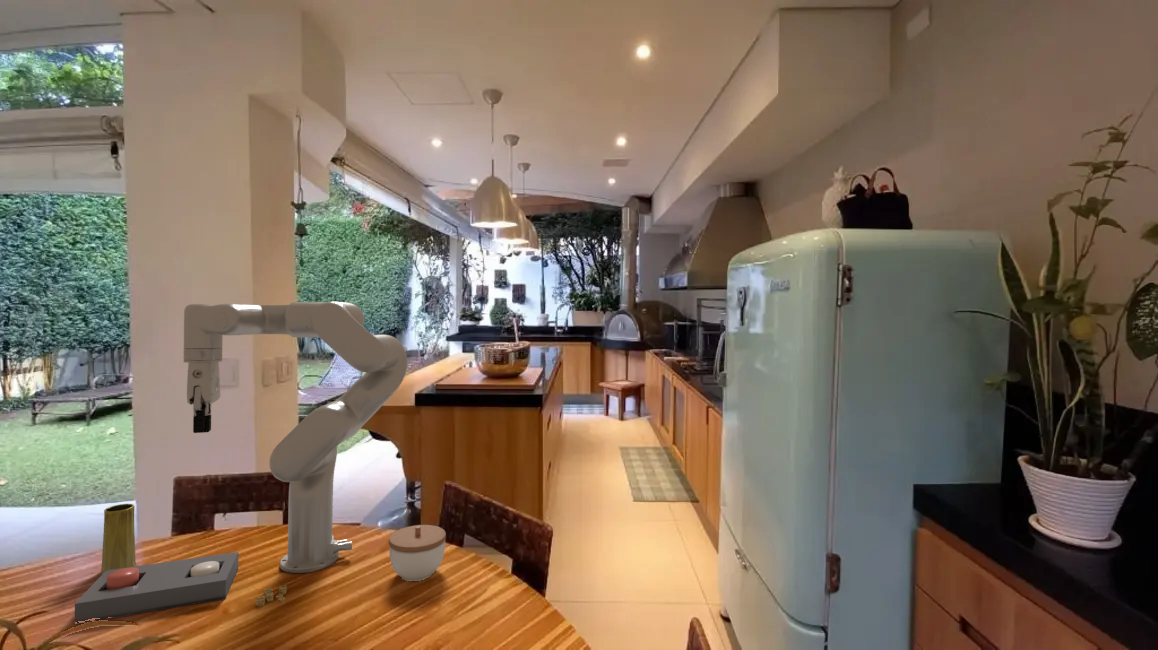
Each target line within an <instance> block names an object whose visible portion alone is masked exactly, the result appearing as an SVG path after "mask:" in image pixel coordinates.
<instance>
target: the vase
mask: <svg viewBox="0 0 1158 650" xmlns="http://www.w3.org/2000/svg"><path fill="white" fill-rule="evenodd" d="M135 510H136V509H135V504H133V503H123V504H116V505H112V506H109V507H106V508H105V509H104V513H103V515H104V517H103V534H102V535H103V537H102V538H103V539H102V555H101V567H100V569H101V570H100V574H101V575H102V574H103V573H104V572H105V571H106V570H113V569H120V568H127V567H134V566H137V562H136V539H135V538H136V537H135V536H136V535H135Z"/></svg>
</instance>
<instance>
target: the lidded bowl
mask: <svg viewBox="0 0 1158 650" xmlns="http://www.w3.org/2000/svg"><path fill="white" fill-rule="evenodd" d="M446 538H447V533H446V531H445V529H443V528H442V527H440V526H437V525H431V524H416V525H411V526H406V527H403V528H400V529H397V530H396V531H394V532H393V533H392V534H391V535H390V536H389V538H388V545H389V548H388V549H389V560H390V565H391V568H392V570H394V572H395V573H396V574H397V575H398V576H400V578H401V577H402V578H401V580H403V579H404V580H407V581H406V582H408V581H419V582H422V581H421V580H423V579H426V578H428V577H430V576H431V575H432V574H433V575H434V573H435V572H436V571H437V570H438V569H439V567H440V565H441V563H442V561H443V558H444V555H445V549H446ZM433 575H432V576H433ZM432 576H431V577H432ZM431 577H430V578H431ZM428 579H429V578H428ZM404 580H403V581H404ZM426 580H427V579H426ZM423 581H424V580H423Z"/></svg>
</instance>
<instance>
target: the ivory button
mask: <svg viewBox="0 0 1158 650" xmlns="http://www.w3.org/2000/svg"><path fill="white" fill-rule="evenodd" d="M215 573H219V562H217V561H208V562H203V563H200V564H197V565H195V566H193V567H192V568H191V577H195V576H202V575H208V574H215Z"/></svg>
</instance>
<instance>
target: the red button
mask: <svg viewBox="0 0 1158 650" xmlns="http://www.w3.org/2000/svg"><path fill="white" fill-rule="evenodd" d="M138 582H139V569H138V568H134V567H131V568H124V569H120V570H117V571H114V572H112V573H110V574H109V575H107V587H106V590H110V589H117V588H123V587H130V586H136V585H137V584H138Z"/></svg>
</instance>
